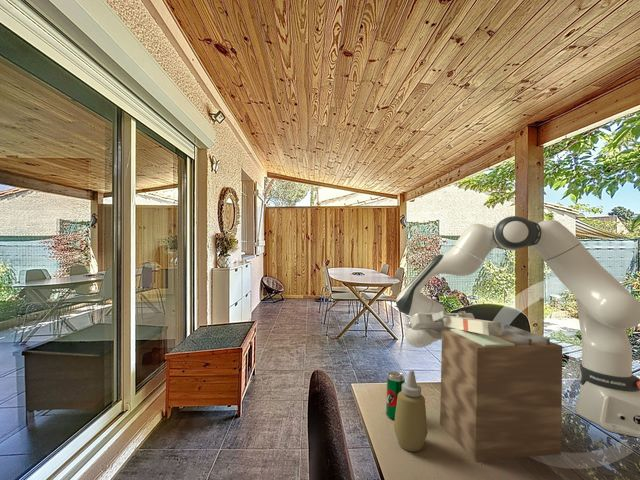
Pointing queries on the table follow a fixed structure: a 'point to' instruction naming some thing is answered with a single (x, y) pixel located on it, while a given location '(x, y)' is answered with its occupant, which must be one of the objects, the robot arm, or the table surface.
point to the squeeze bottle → (410, 416)
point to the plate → (483, 338)
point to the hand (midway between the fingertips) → (454, 313)
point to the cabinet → (502, 395)
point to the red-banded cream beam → (473, 325)
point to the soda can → (393, 392)
